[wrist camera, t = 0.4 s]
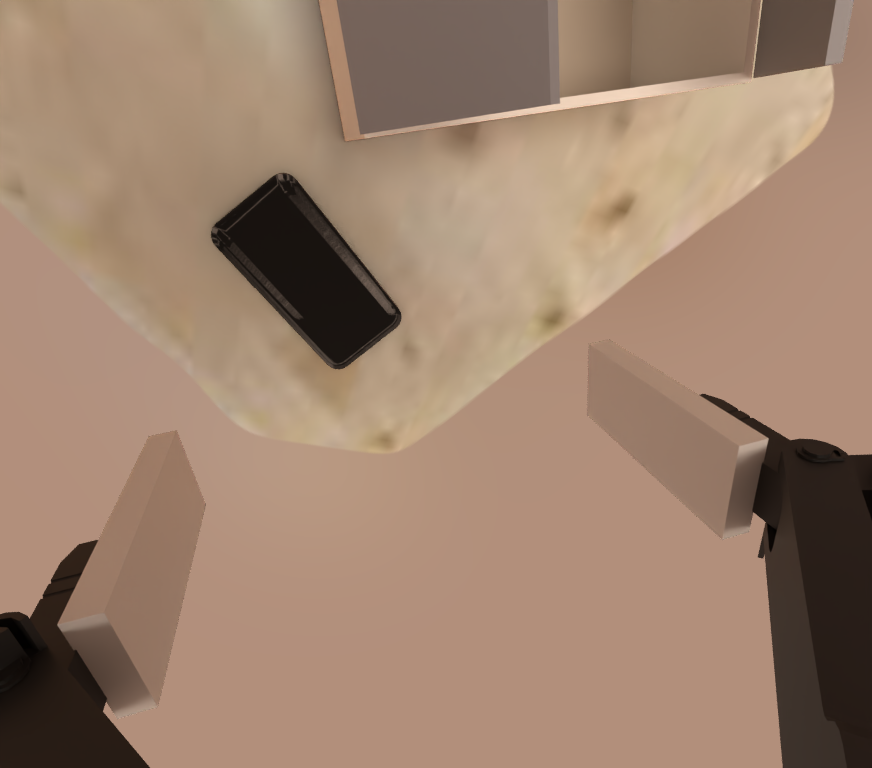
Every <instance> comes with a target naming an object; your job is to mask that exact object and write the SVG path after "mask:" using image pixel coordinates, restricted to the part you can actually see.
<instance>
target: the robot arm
mask: <svg viewBox="0 0 872 768" xmlns="http://www.w3.org/2000/svg"><path fill="white" fill-rule="evenodd" d="M588 354H589V355H588V394H587V415H588V416H589V417H590V418H591V419H592V420H593V421H594V422H595V423H596V424H597V425H599V426H600V427H601V428H602V429H603V430H604V431H605V432H606V433H607V434H609V436H611V437H612V438H613V439H614V440H615V441H616V442H617V443H618V444H619V445H620V446H621V447H622V448H623V449H625V450H626V451H627V452H628V453H629V454H630V455H631V456H632V457H633V458H634V459H635V460H637V462H639V463H640V464H641V465H642V466H643V467H644V468H645V469H646V470H647V471H648V472H649V473H650V474H652V475H653V476H654V477H655V478H656V479H657V480H658V481H659V482H660V483H661V484H662V485H663V486H665V487H666V488H667V489H668V490H669V491H670V492H671V493H672V494H673V495H674V496H675V497H677V498H678V499H679V500H680V501H681V502H682V503H683V504H684V505H685V506H686V507H687V508H688V509H689V510H691V511H692V512H693V513H694V514H695V515H696V516H697V517H698V518H699V519H700V520H701V521H702V522H704V523H705V524H706V525H707V526H708V527H709V528H710V529H711V530H712V531H713V532H714V533H715V534H717V535H718V536H719V537H720V538H721V539H722V540H724V539H727V538H730V537H734V536H737V535H740V534H744V533H747V532H749V530H750V525H751V520H752V515H753V512H754V513H755V514H757V515H758V516H759V517H760V518H762V519H763V520H764V521H765V522H766V523H765V528H764V532H763V537H762V541H761V545H760V550H759V554H758V557H759V558H763V557H764V554H765V562H766V575H767V586H768V598H769V610H770V622H771V634H772V645H773V657H774V669H775V681H776V692H777V703H778V715H779V727H780V740H781V750H782V763H783V768H872V455H847V453H846V452H844V451H843V450H841V449H840V448H838V447H836V446H834V445H831V444H828V443H826V442H822V441H818V440H813V439H796V440H789V439H787V438H786V437H784V436H782V435H781V434H779V433H777V432H775V431H774V430H772V429H771V428H769V427H767V426H766V425H763V424H762V423H760V422H758V421H757V420H755V419H754V418H750V416H749V415H747V414H745V413H744V412H742V411H738V409H737V408H735V407H734V406H732V405H730V404H729V403H727V402H725V401H724V400H721V399H718V398H715V397H712V396H709V395H706V394H701V395H698V394H696V393H695V392H693V391H692V390H690V389H688V388H687V387H685V386H683V385H682V384H680V383H679V382H677V381H676V380H674V379H672V378H671V377H669V376H667V375H666V374H664V373H663V372H661V371H659V370H658V369H656V368H655V367H653V366H651V365H650V364H648V363H647V362H645V361H643V360H642V359H640V358H639V357H637V356H635V355H634V354H632V353H631V352H629V351H627V350H626V349H624V348H622V347H621V346H619V345H618V344H616V343H614V342H613V341H611V340H604V341H599V342H595V343H590V344H589V351H588ZM205 506H206V504H205V501H204V499H203V496H202V494H201V491H200V489H199V486H198V483H197V481H196V478H195V476H194V473H193V471H192V468H191V466H190V463H189V461H188V458H187V456H186V453H185V450H184V448H183V445H182V443H181V440H180V438H179V435H178V432H177V431H171V432H167V433H162V434H157V435H152V436H149V437H148V439H147V441H146V444H145V445H144V447H143V449H142V451H141V453H140V455H139V458H138V460H137V462H136V464H135V466H134V468H133V470H132V472H131V474H130V476H129V478H128V480H127V482H126V484H125V486H124V488H123V490H122V492H121V495H120V497H119V499H118V501H117V503H116V505H115V507H114V509H113V511H112V513H111V515H110V517H109V519H108V521H107V523H106V525H105V527H104V529H103V532H102V534H101V536H100V538H99V540H95V541H91V542H87V543H83V544H79V545H78V546H77V547H76V548H75V549H74V550H73V551H72V552H71V553H70V554H69V555H68V556H67V557H66V558H65V559H64V560H63V561H62V562H61V563H60V565H59V566H58V568H57V570H56V572H55V574H54V575H53V577H52V579H51V584H49V585H48V586H47V588H46V590H45V592H44V594H43V599H40V601H39V603H38V605H37V606H36V608H35V610H34V612H33V614H32V616H31V617H30V619H29V617H28V616H26V615H25V614H22V613H20V612H8V613H3V614H0V768H150V767H149V766H148V765H147V764H146V763H145V761H144V760H143V759H142V758H141V756H140V755H139V754H138V753H137V752H136V750H135V749H134V748H133V747H132V746H131V745H130V744H129V742H128V741H127V740H126V739H125V737H124V736H123V735H122V734H121V733H120V732H119V730H118V729H117V728H116V727H115V726H114V724H113V723H112V722H111V721H110V720H109V718H108V717H107V716H106V715H105V714H104V713H103V709H104V706H105V703H106V702H107V703H108V705H109V706H110V708H111V710H112V711H113V713H114V714H115V716H116V717H117V719H119V718H122V717H125V716H129V715H132V714H136V713H139V712H142V711H146V710H149V709H153V708H156V707H158V704H159V700H160V696H161V692H162V688H163V684H164V679H165V675H166V670H167V667H168V662H169V658H170V654H171V649H172V646H173V641H174V637H175V633H176V629H177V624H178V620H179V616H180V612H181V608H182V603H183V599H184V595H185V591H186V586H187V582H188V578H189V574H190V570H191V565H192V561H193V557H194V552H195V548H196V544H197V540H198V536H199V531H200V527H201V523H202V519H203V515H204V510H205Z"/></svg>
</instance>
